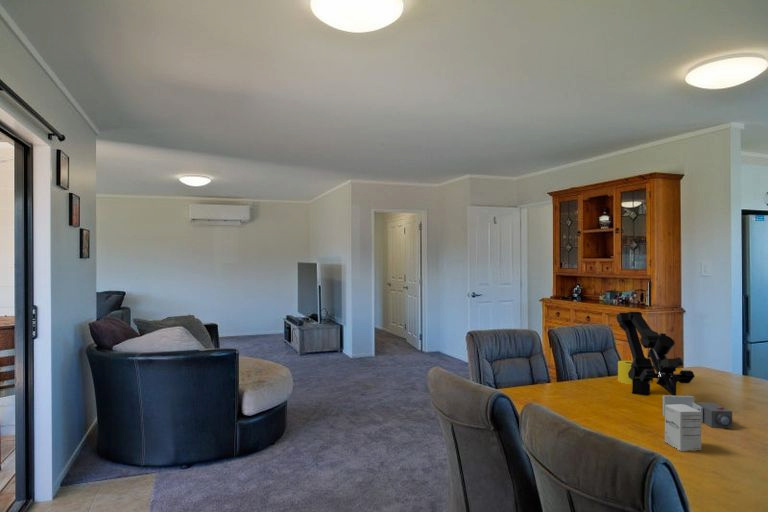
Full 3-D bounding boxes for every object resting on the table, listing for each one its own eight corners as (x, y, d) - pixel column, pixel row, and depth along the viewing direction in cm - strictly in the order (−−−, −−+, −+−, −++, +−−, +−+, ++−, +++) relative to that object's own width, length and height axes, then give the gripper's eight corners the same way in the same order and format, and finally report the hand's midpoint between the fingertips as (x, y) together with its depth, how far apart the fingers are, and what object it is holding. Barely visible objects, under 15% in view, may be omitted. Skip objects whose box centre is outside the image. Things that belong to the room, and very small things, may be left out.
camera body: (695, 417, 176) (695, 400, 176) (714, 418, 175) (714, 401, 175) (714, 429, 164) (714, 410, 164) (735, 430, 163) (735, 411, 163)
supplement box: (663, 442, 152) (663, 404, 153) (685, 441, 153) (685, 403, 153) (680, 451, 145) (680, 411, 145) (702, 451, 146) (702, 411, 146)
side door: (662, 415, 178) (662, 395, 178) (692, 416, 177) (692, 396, 177) (671, 421, 171) (671, 400, 171) (702, 422, 170) (702, 401, 170)
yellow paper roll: (613, 380, 230) (613, 361, 230) (628, 378, 233) (628, 359, 233) (630, 385, 220) (630, 365, 220) (645, 383, 224) (645, 364, 224)
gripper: (643, 349, 186) (656, 384, 175) (691, 350, 185) (709, 385, 173) (634, 364, 194) (646, 399, 183) (680, 365, 192) (696, 400, 181)
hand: (674, 395), depth 180 cm, fingers closed
